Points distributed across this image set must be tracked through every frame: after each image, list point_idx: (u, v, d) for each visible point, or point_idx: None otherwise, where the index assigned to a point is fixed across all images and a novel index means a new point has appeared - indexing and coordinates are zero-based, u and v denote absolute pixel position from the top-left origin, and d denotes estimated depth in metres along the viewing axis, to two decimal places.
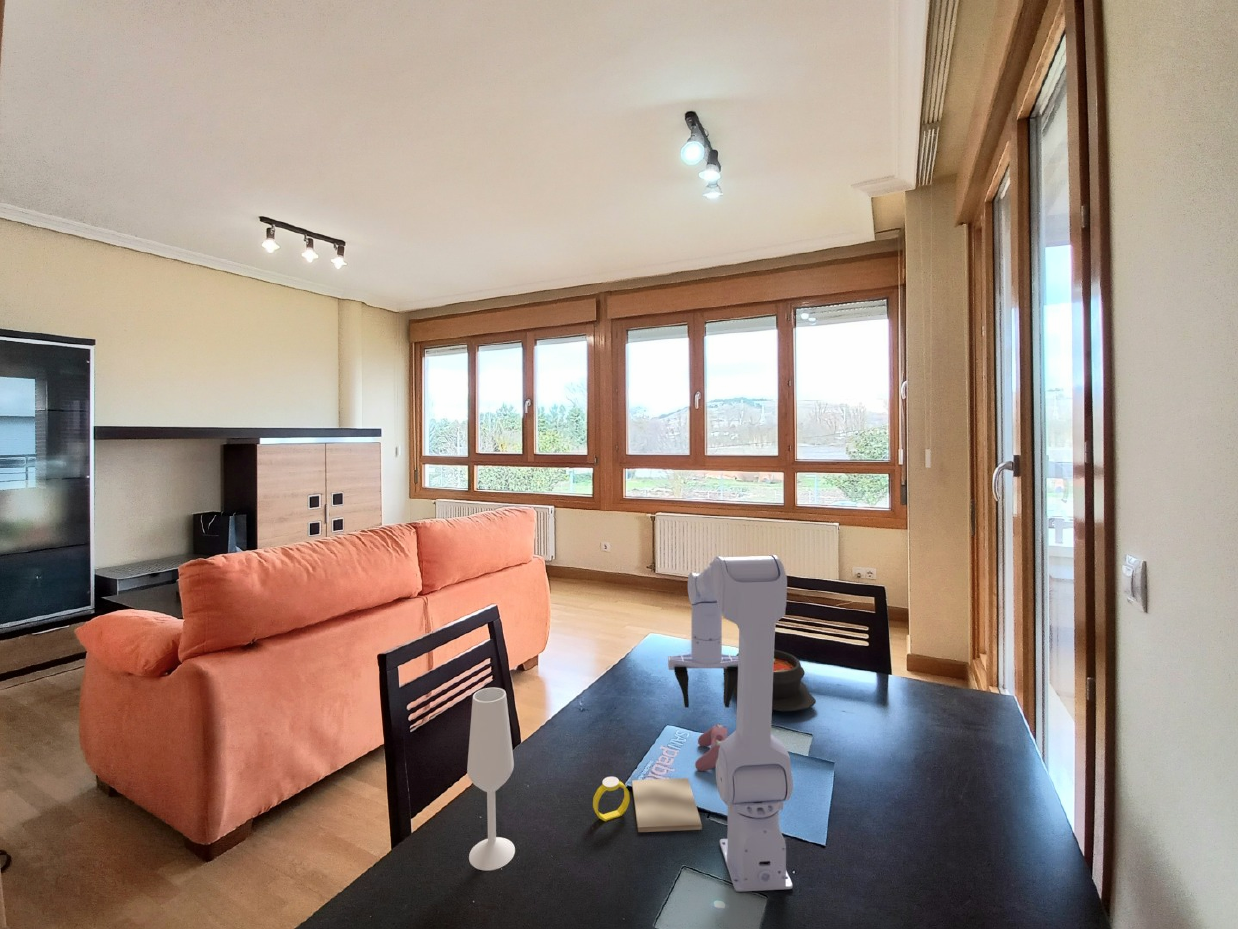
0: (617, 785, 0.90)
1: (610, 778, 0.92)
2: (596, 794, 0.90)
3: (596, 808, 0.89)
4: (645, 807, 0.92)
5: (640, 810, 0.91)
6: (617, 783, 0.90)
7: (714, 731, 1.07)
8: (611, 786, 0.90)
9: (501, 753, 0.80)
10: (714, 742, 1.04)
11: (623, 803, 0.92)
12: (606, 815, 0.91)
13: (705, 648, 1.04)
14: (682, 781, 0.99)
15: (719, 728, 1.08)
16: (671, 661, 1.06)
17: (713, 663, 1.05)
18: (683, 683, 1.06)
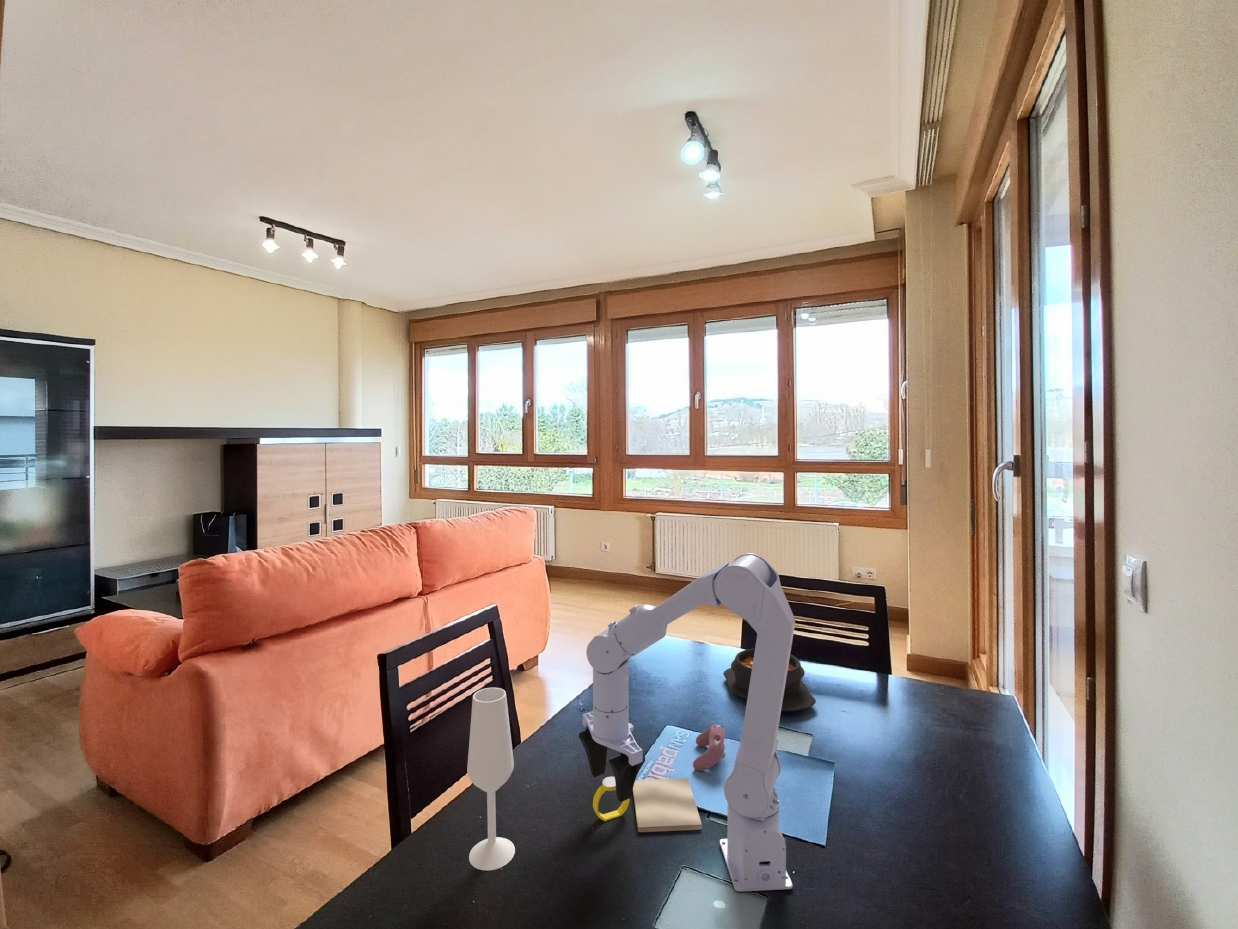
0: None
1: (610, 778, 0.92)
2: (596, 794, 0.90)
3: (596, 808, 0.89)
4: (645, 807, 0.92)
5: (640, 810, 0.91)
6: None
7: (712, 731, 1.07)
8: (611, 786, 0.90)
9: (501, 753, 0.80)
10: (712, 742, 1.04)
11: (623, 803, 0.92)
12: (606, 815, 0.91)
13: (594, 717, 0.89)
14: (682, 781, 0.99)
15: (717, 728, 1.08)
16: (584, 717, 0.96)
17: (599, 738, 0.88)
18: (585, 746, 0.93)
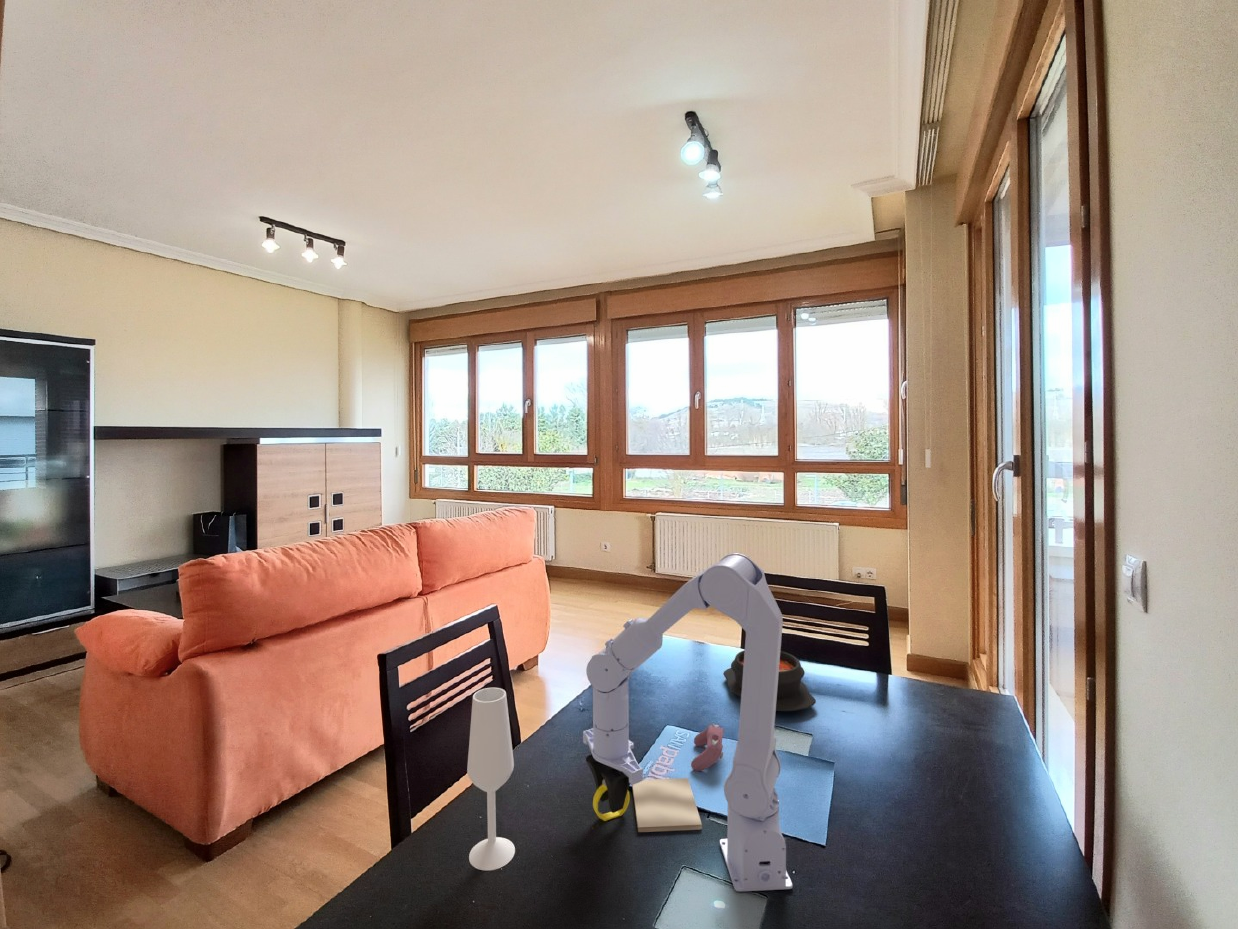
0: None
1: None
2: (596, 794, 0.90)
3: (596, 808, 0.89)
4: (645, 807, 0.92)
5: (640, 810, 0.91)
6: None
7: (710, 731, 1.07)
8: None
9: (501, 753, 0.80)
10: (710, 742, 1.04)
11: None
12: (606, 815, 0.91)
13: (594, 735, 0.89)
14: (682, 781, 0.99)
15: (715, 728, 1.08)
16: (584, 734, 0.96)
17: (599, 756, 0.88)
18: (592, 770, 0.92)
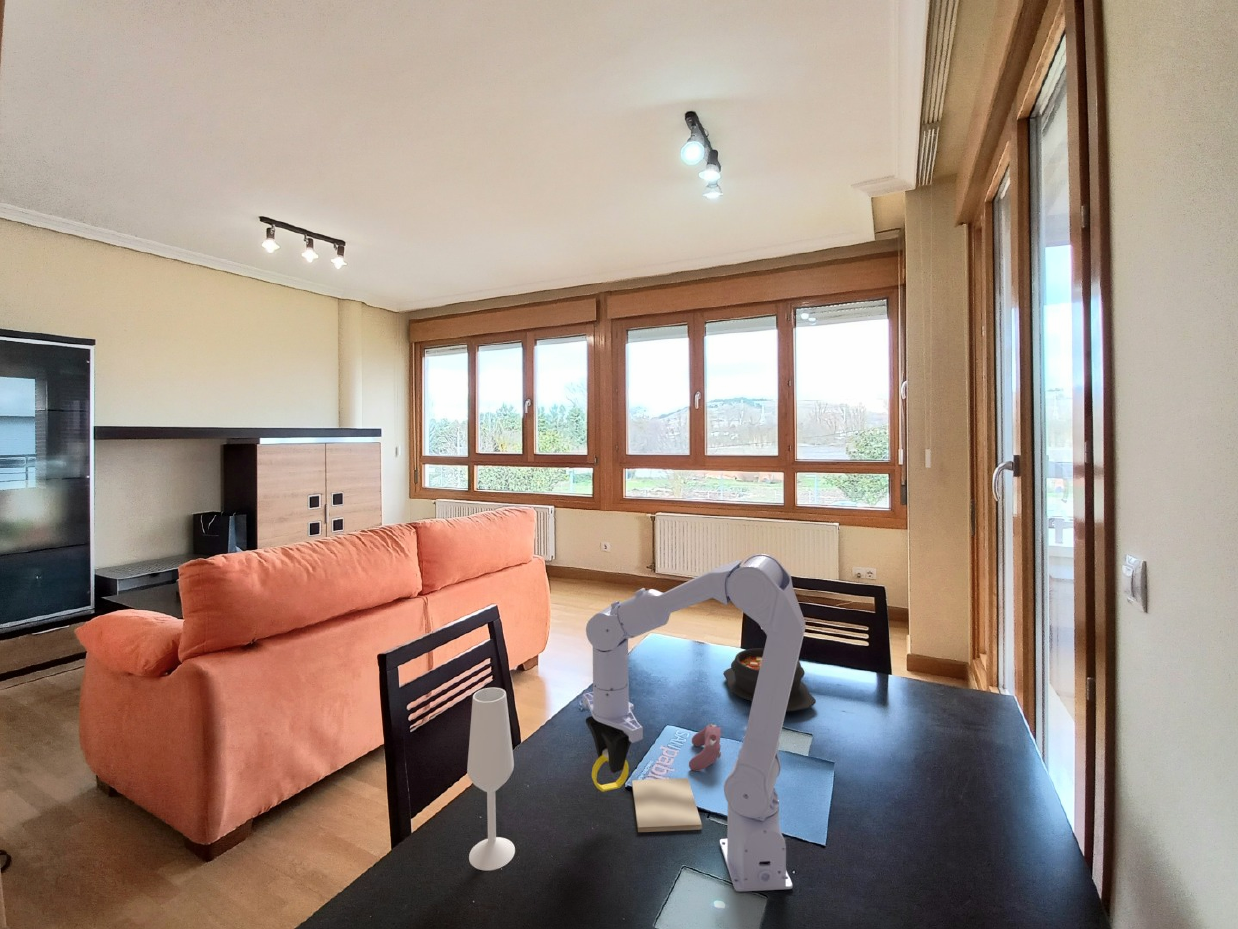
0: None
1: None
2: (595, 764, 0.90)
3: (595, 778, 0.89)
4: (645, 807, 0.92)
5: (640, 810, 0.91)
6: None
7: (708, 731, 1.07)
8: None
9: (501, 753, 0.80)
10: (708, 742, 1.04)
11: (622, 776, 0.92)
12: (604, 786, 0.91)
13: (594, 695, 0.89)
14: (682, 781, 0.99)
15: (713, 728, 1.08)
16: (584, 697, 0.95)
17: (599, 716, 0.88)
18: (592, 731, 0.91)
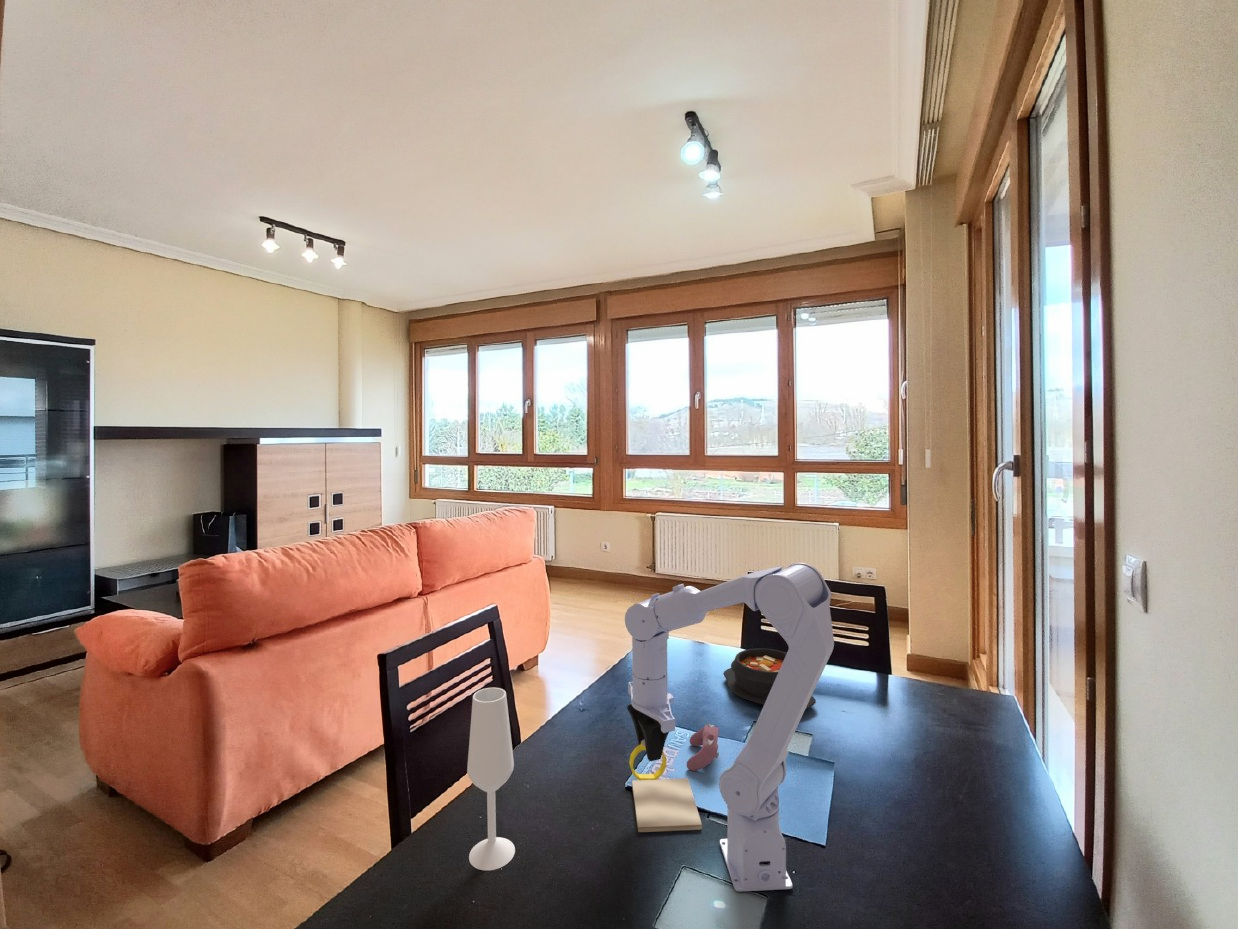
0: None
1: None
2: (633, 751, 0.92)
3: (631, 764, 0.91)
4: (645, 807, 0.92)
5: (640, 810, 0.91)
6: None
7: (705, 731, 1.07)
8: None
9: (501, 753, 0.80)
10: (705, 742, 1.04)
11: (660, 768, 0.93)
12: (641, 775, 0.92)
13: (632, 683, 0.91)
14: (682, 781, 0.99)
15: (710, 728, 1.08)
16: (629, 684, 0.98)
17: (636, 704, 0.90)
18: (632, 718, 0.94)
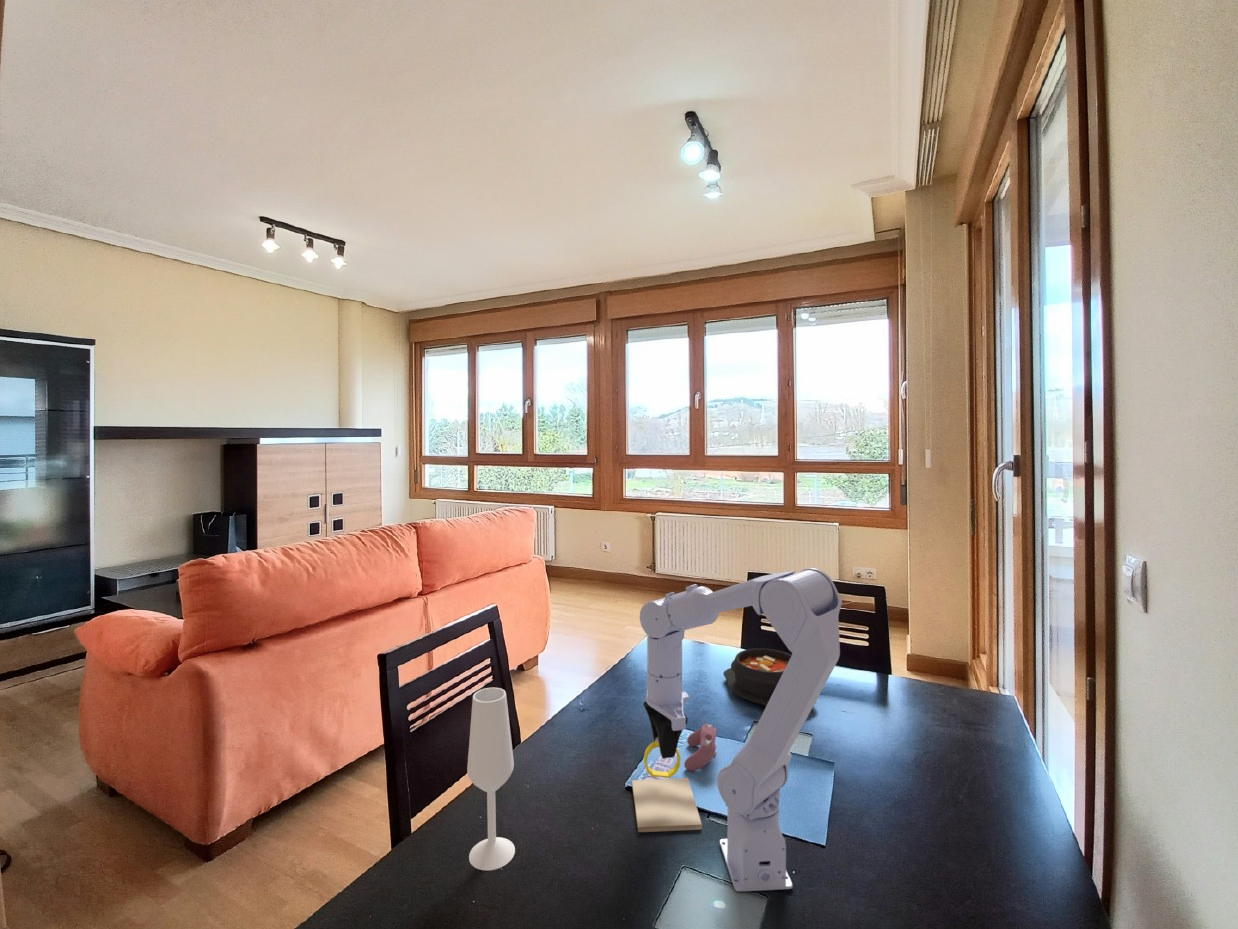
0: None
1: None
2: (648, 748, 0.93)
3: (645, 760, 0.92)
4: (645, 807, 0.92)
5: (640, 810, 0.91)
6: None
7: (703, 731, 1.07)
8: None
9: (501, 753, 0.80)
10: (703, 742, 1.04)
11: (674, 767, 0.94)
12: (655, 772, 0.93)
13: (647, 680, 0.93)
14: (682, 781, 0.99)
15: (708, 728, 1.08)
16: None
17: (650, 700, 0.91)
18: (648, 715, 0.95)
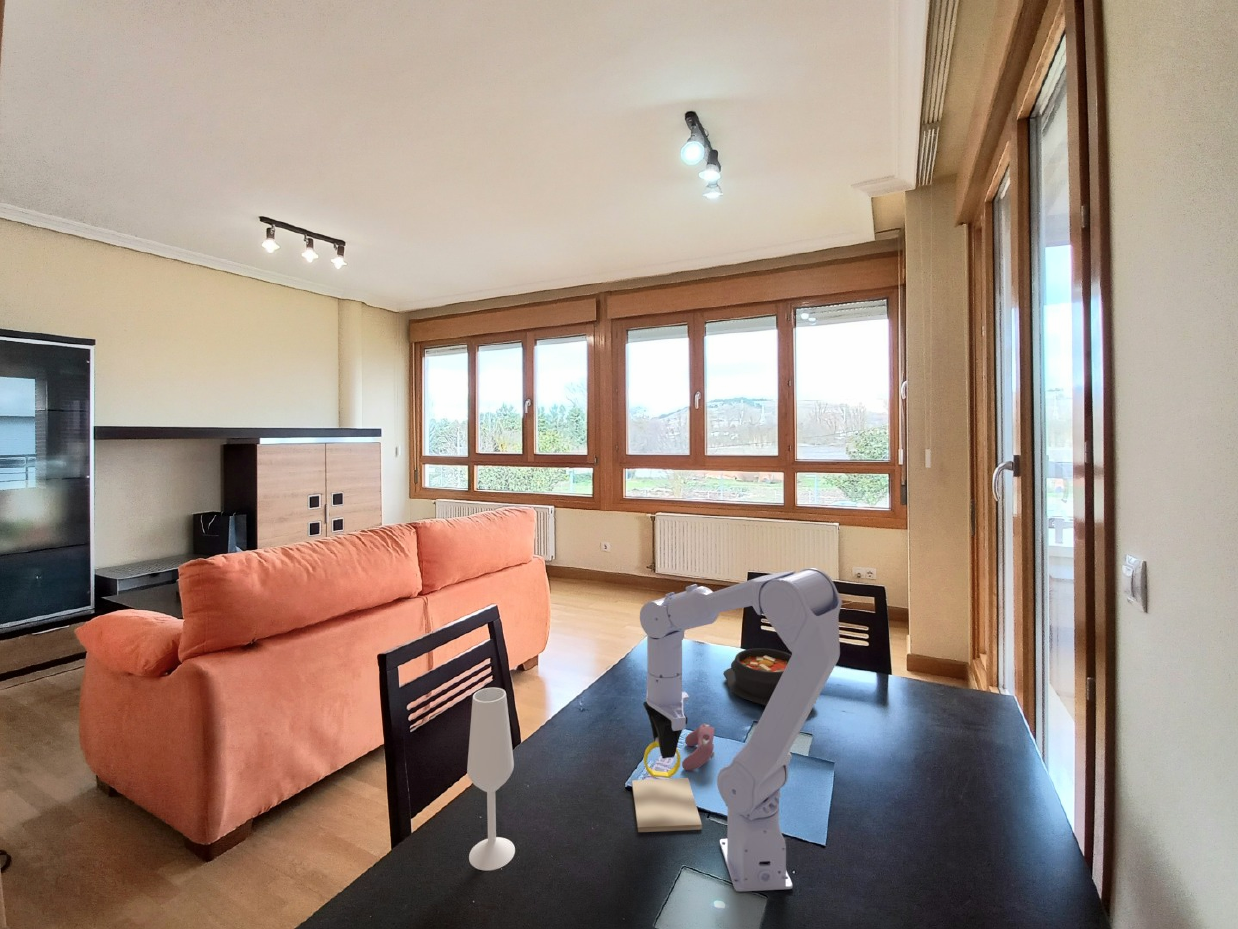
0: None
1: None
2: (648, 748, 0.93)
3: (645, 760, 0.92)
4: (645, 807, 0.92)
5: (640, 810, 0.91)
6: None
7: (701, 730, 1.07)
8: None
9: (501, 753, 0.80)
10: (701, 741, 1.04)
11: (674, 767, 0.94)
12: (655, 772, 0.93)
13: (647, 680, 0.93)
14: (682, 781, 0.99)
15: (706, 727, 1.08)
16: None
17: (650, 700, 0.91)
18: (648, 715, 0.95)
